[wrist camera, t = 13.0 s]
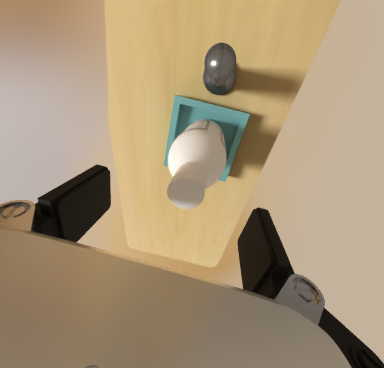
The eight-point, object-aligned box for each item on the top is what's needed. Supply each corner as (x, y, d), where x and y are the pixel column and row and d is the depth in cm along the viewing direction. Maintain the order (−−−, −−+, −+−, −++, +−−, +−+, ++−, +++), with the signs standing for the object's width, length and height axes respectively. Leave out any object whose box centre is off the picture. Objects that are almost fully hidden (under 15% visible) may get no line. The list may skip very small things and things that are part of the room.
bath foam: (178, 142, 32) (127, 198, 14) (200, 109, 28) (171, 128, 11) (207, 164, 33) (194, 242, 15) (231, 135, 30) (252, 189, 12)
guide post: (224, 49, 25) (229, 13, 15) (241, 80, 27) (256, 68, 16) (197, 73, 27) (184, 56, 16) (214, 101, 29) (212, 102, 18)
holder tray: (178, 95, 29) (174, 95, 26) (247, 112, 29) (249, 114, 26) (168, 160, 34) (163, 165, 32) (225, 175, 34) (225, 181, 32)
